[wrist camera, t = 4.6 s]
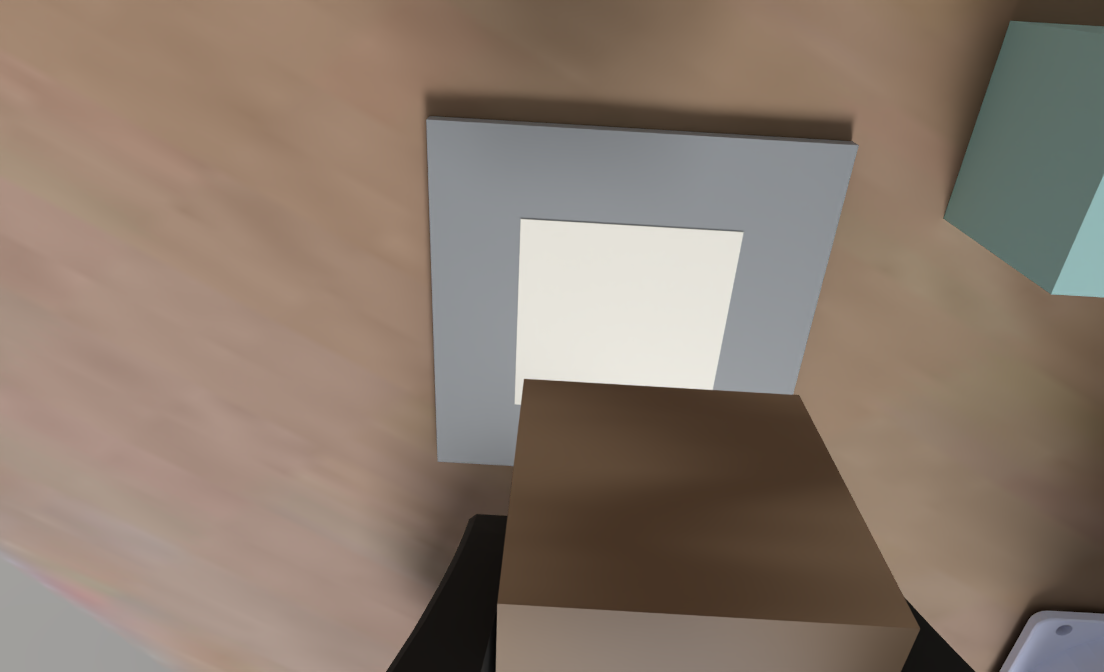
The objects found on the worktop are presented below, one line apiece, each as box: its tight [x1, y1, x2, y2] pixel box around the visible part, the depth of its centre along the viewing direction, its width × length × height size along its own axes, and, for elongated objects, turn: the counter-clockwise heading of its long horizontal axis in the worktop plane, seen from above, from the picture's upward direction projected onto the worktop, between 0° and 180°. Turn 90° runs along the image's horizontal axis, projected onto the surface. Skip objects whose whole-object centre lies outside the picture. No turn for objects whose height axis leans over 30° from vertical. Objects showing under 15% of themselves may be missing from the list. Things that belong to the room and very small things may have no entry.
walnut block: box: [496, 379, 920, 672], centre depth 10 cm, size 4×4×4 cm
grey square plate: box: [426, 116, 859, 466], centre depth 19 cm, size 10×10×1 cm
